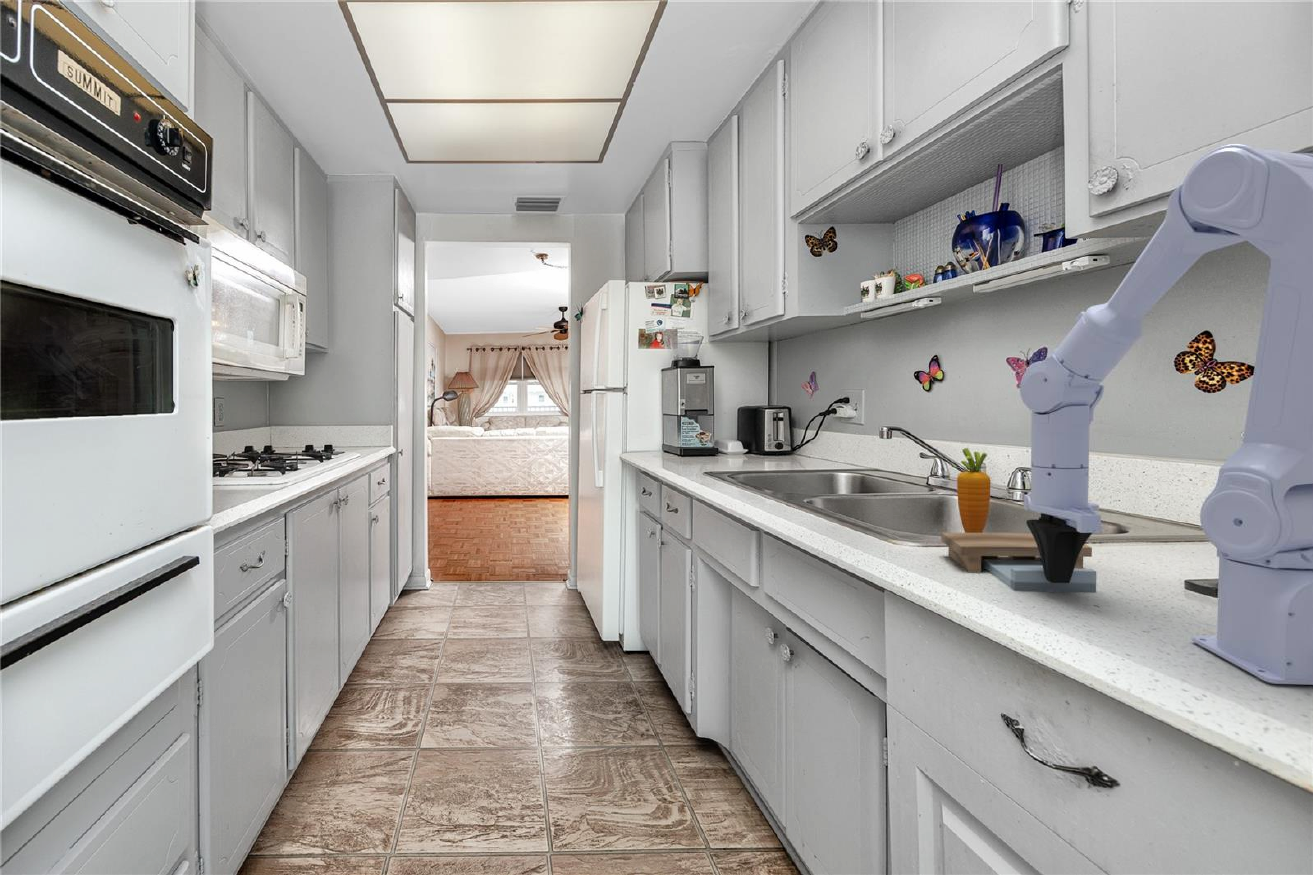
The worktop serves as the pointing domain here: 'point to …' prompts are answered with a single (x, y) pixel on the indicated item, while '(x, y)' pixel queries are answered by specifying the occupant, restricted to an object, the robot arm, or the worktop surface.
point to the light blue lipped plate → (1037, 576)
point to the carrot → (973, 494)
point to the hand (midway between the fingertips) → (1057, 581)
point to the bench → (996, 548)
